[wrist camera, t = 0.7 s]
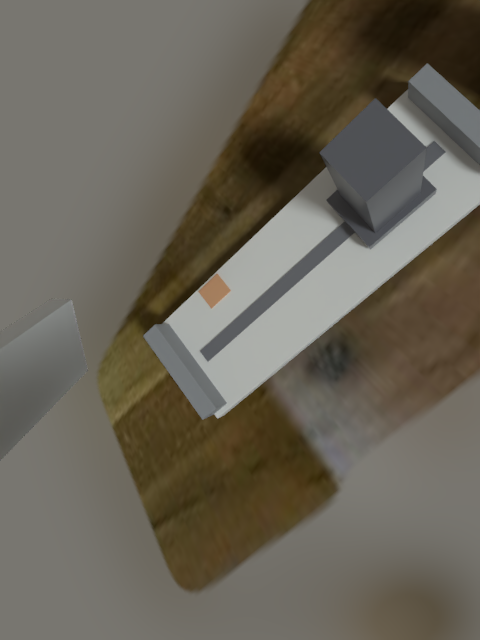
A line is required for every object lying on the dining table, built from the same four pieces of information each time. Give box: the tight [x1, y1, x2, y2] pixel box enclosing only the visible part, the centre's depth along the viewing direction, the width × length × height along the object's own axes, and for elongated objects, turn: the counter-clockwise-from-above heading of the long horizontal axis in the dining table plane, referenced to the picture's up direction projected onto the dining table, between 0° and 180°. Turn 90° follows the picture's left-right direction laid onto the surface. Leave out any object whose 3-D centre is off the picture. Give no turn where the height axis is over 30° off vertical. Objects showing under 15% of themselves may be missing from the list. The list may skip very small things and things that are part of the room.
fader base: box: [143, 63, 480, 420], centre depth 35 cm, size 30×10×4 cm, turn 130°
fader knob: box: [319, 98, 437, 250], centre depth 29 cm, size 6×5×10 cm
